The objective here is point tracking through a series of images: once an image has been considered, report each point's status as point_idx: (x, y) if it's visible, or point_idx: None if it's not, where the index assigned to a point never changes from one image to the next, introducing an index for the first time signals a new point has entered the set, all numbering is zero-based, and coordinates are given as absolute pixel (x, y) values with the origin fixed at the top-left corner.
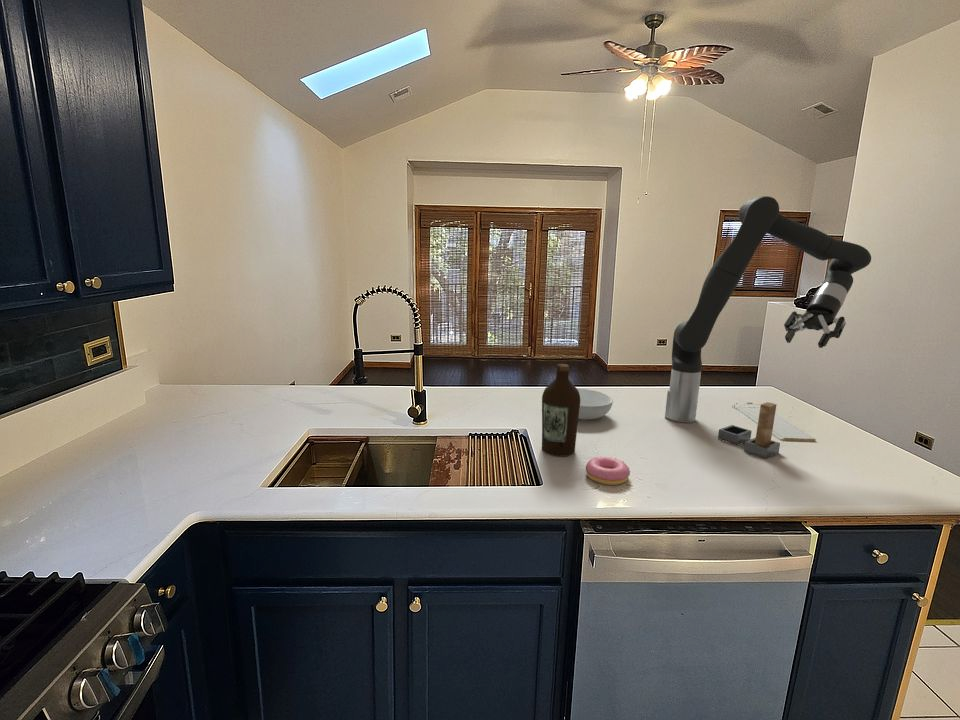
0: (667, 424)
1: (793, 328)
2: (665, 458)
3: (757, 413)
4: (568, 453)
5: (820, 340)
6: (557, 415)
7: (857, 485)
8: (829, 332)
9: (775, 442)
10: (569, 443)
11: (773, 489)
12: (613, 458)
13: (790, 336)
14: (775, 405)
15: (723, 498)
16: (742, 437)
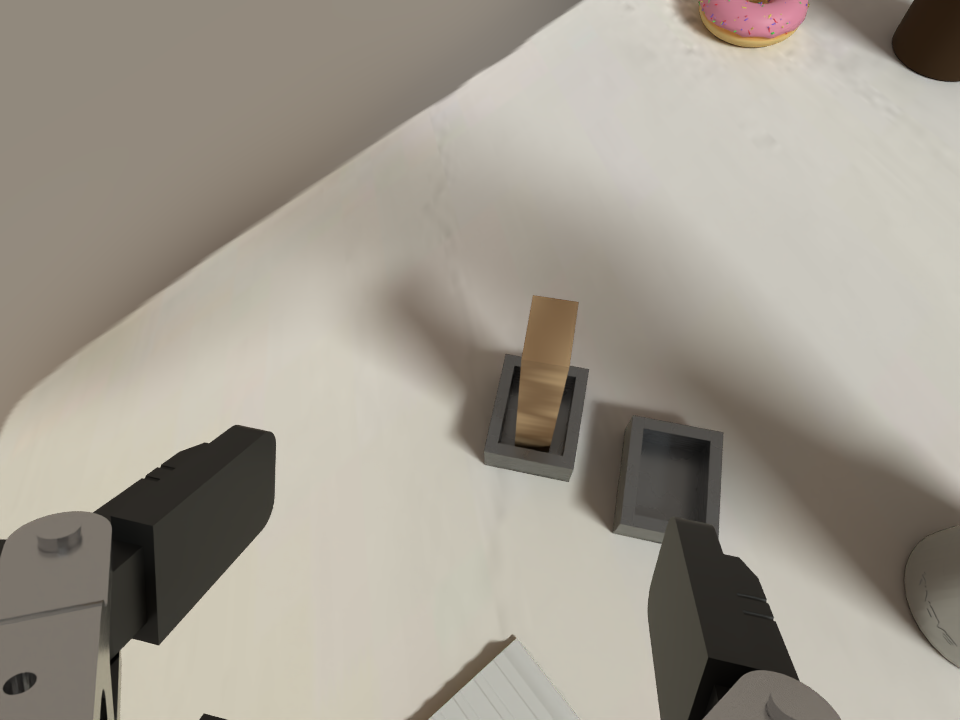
0: (944, 465)
1: (730, 697)
2: (724, 175)
3: None
4: (895, 35)
5: (233, 446)
6: None
7: (241, 357)
8: (36, 519)
9: (499, 444)
10: (912, 7)
11: (434, 187)
12: (771, 8)
13: (675, 578)
14: (523, 351)
15: (512, 84)
16: (626, 453)
